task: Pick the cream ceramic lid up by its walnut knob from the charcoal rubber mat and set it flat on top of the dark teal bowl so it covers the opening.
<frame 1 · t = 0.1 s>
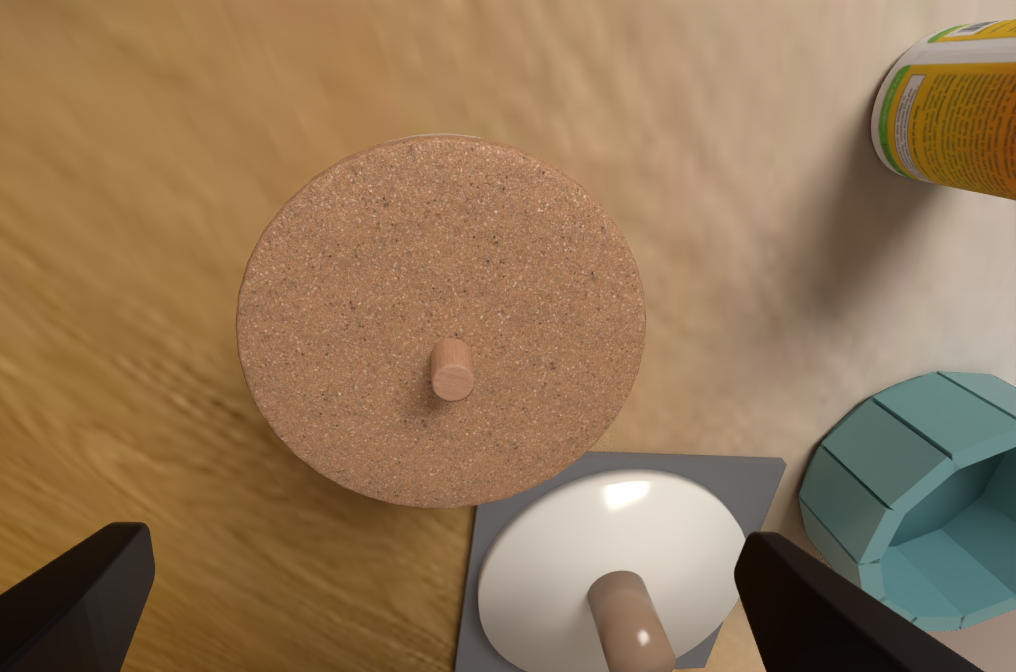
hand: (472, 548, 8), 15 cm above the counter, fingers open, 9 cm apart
supplement bottle: (928, 105, 22), on the counter
mat: (607, 569, 30), on the counter
lidded jar: (444, 262, 22), on the counter
lid: (610, 576, 29), resting on mat
bowl: (904, 468, 30), on the counter
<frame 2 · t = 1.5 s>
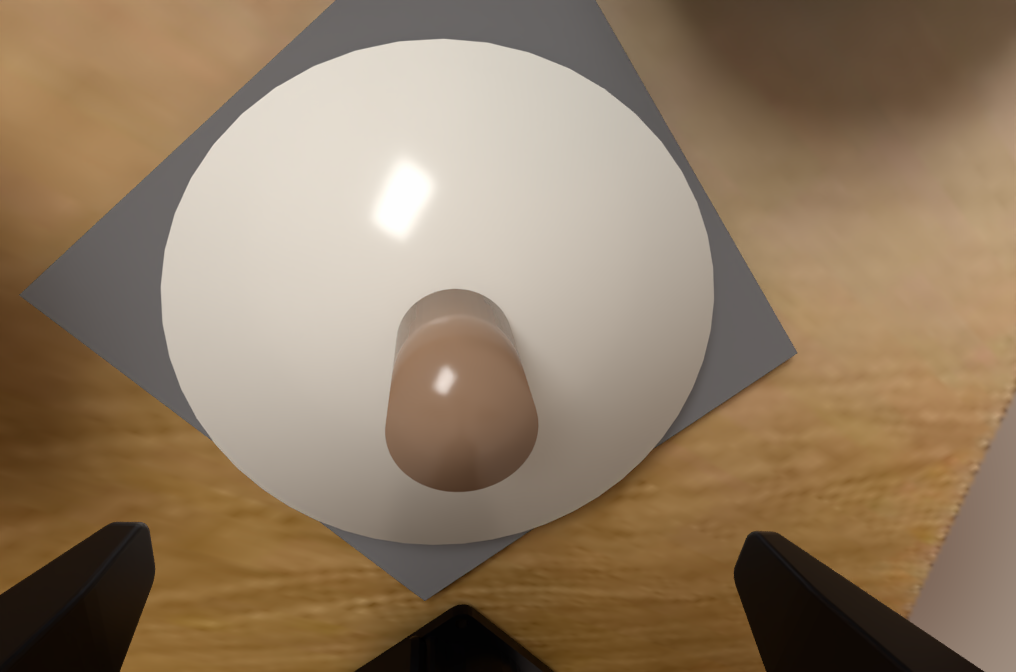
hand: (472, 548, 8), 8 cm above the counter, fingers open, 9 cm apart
mat: (453, 320, 16), on the counter
lid: (453, 327, 15), resting on mat
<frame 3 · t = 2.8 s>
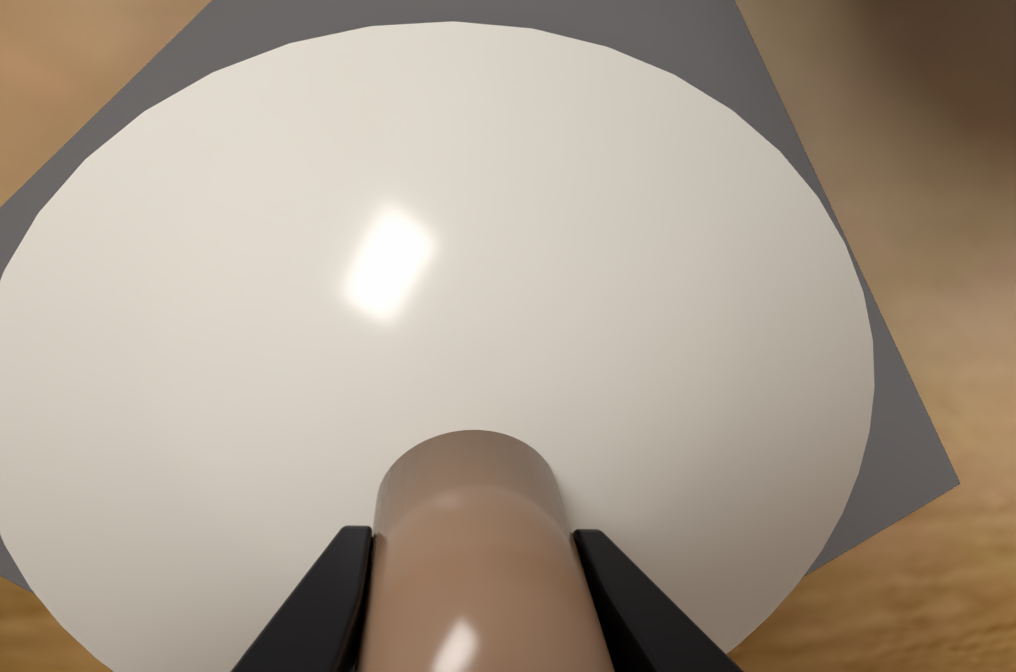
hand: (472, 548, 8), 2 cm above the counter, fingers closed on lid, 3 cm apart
mat: (463, 451, 11), on the counter
lid: (465, 467, 10), resting on mat, touching gripper
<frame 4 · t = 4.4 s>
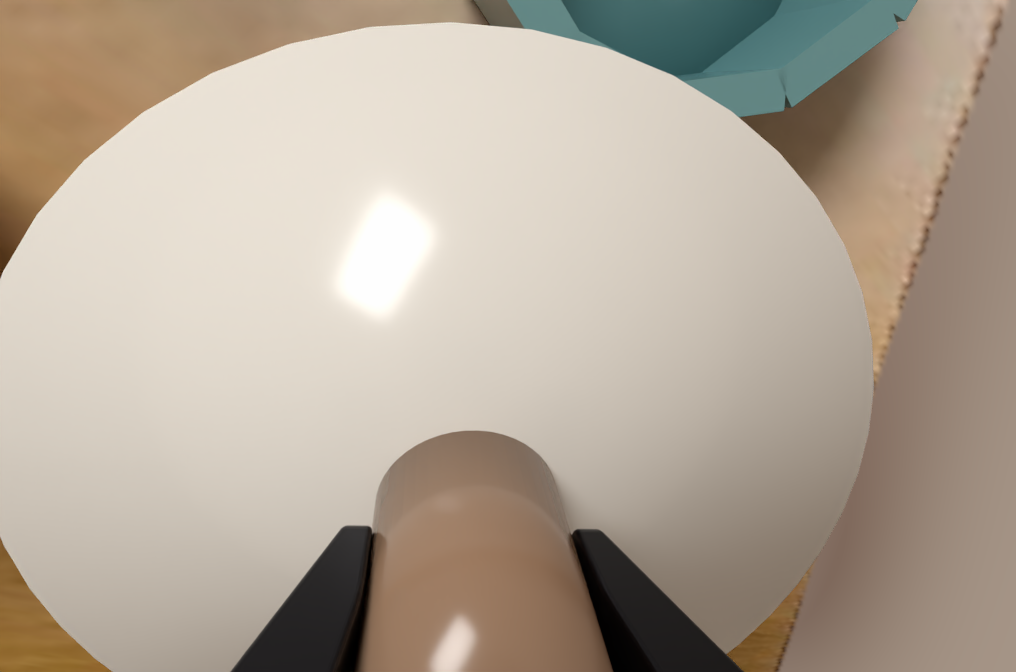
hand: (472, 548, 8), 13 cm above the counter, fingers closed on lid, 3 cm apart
lid: (464, 468, 10), point 11 cm above the counter, touching gripper
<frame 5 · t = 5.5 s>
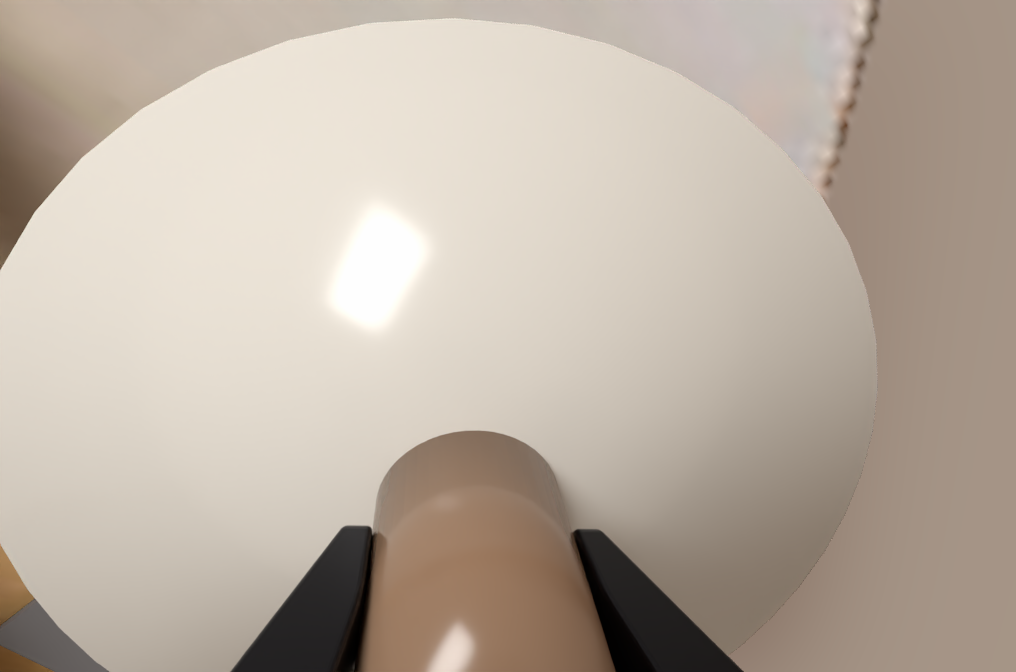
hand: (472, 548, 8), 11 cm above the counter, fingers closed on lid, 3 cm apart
mat: (282, 624, 24), on the counter
lid: (465, 468, 10), point 9 cm above the counter, touching gripper
when the fingers open (8 cm above the counter, at t = 6.2 s): lid drops 1 cm, resting on bowl.
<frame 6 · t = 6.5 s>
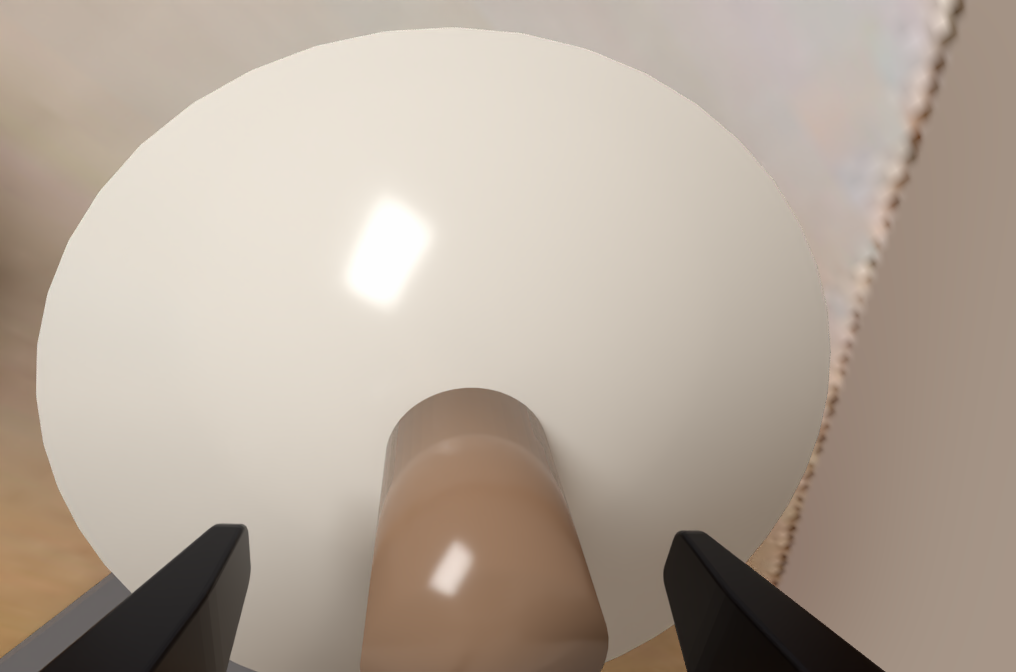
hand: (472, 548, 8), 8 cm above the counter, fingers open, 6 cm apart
lid: (465, 427, 11), point 5 cm above the counter, touching bowl
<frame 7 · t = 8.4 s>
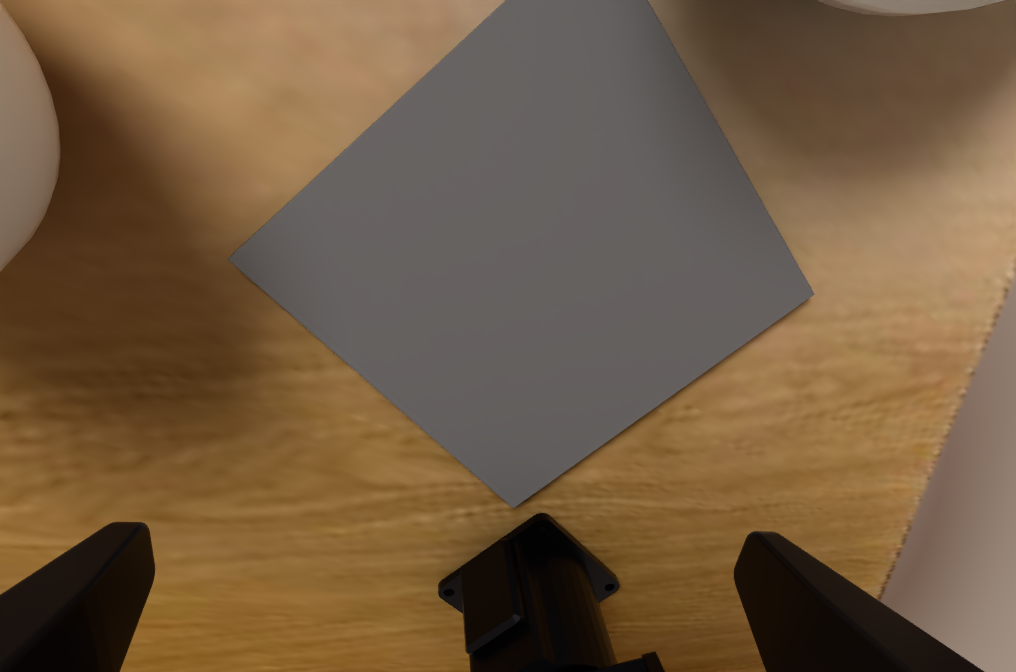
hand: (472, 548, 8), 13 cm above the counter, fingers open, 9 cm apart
mat: (543, 273, 20), on the counter
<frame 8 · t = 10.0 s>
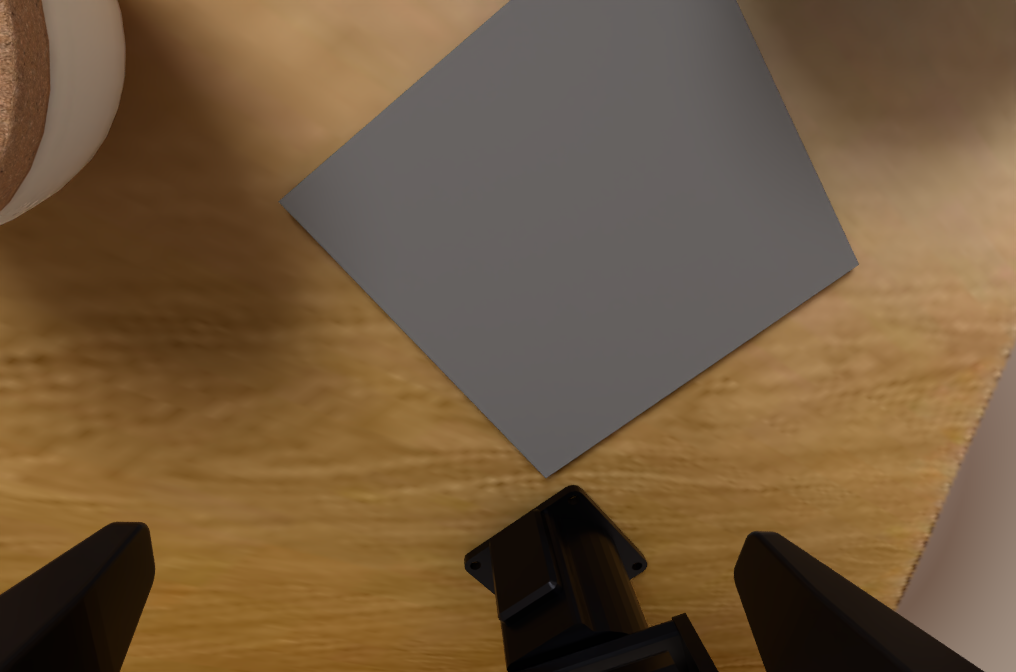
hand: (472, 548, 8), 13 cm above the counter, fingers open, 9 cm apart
mat: (591, 232, 20), on the counter
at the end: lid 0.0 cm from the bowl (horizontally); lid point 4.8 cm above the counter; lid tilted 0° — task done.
